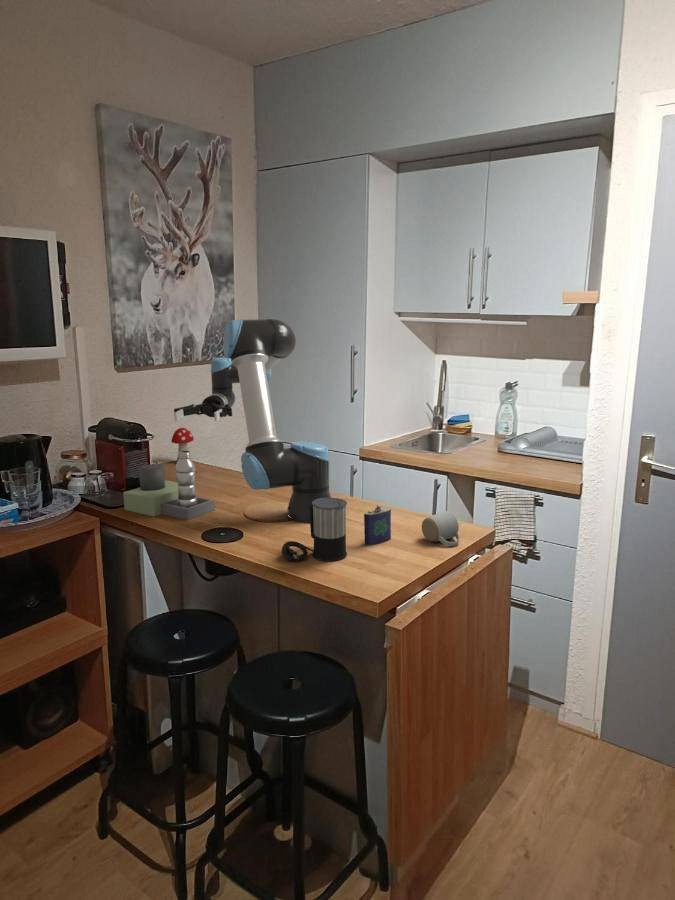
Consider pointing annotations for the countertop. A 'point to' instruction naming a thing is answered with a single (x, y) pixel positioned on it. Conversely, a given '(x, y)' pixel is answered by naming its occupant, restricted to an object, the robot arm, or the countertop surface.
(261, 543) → the countertop surface
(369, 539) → the flask
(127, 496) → the green block with tray
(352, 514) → the countertop surface
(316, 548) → the milk frother
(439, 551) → the countertop surface
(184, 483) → the plastic bottle
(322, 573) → the countertop surface
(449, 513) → the ceramic mug
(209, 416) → the robot arm
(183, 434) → the decorative mushroom
